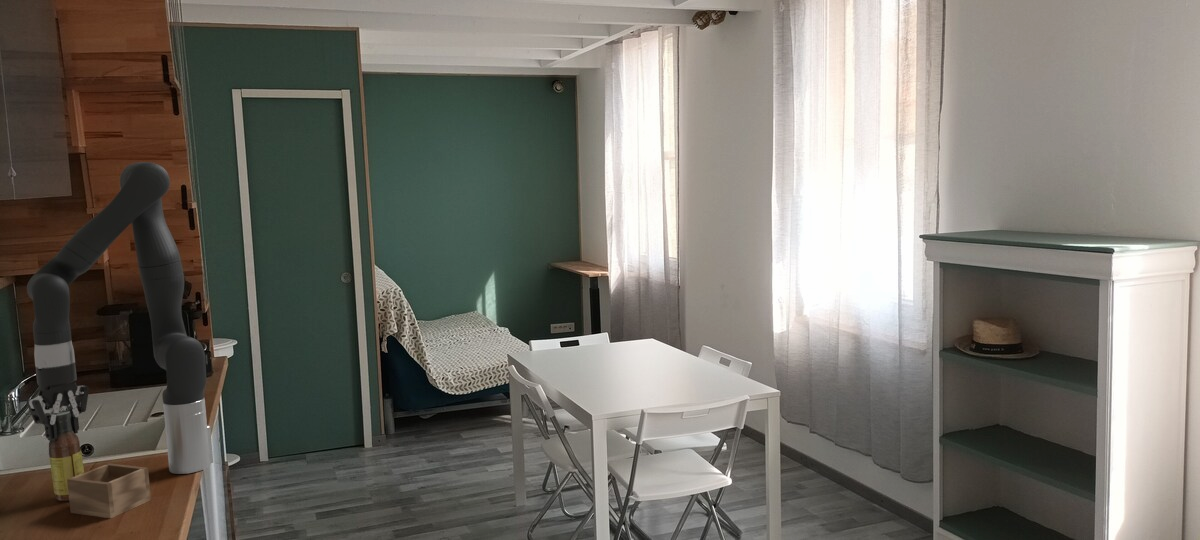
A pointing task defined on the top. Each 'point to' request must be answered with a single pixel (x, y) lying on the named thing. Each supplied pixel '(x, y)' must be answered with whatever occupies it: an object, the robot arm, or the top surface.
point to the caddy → (109, 490)
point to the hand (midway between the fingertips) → (62, 436)
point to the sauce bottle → (64, 456)
